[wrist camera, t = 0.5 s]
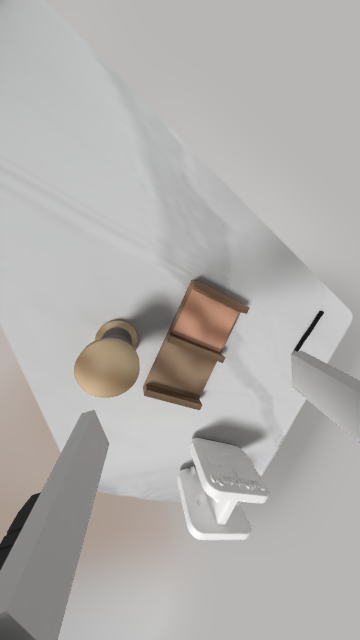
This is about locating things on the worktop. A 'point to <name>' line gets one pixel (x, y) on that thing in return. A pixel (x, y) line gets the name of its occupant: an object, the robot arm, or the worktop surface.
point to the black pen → (308, 331)
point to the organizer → (219, 491)
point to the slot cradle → (192, 346)
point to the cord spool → (109, 361)
